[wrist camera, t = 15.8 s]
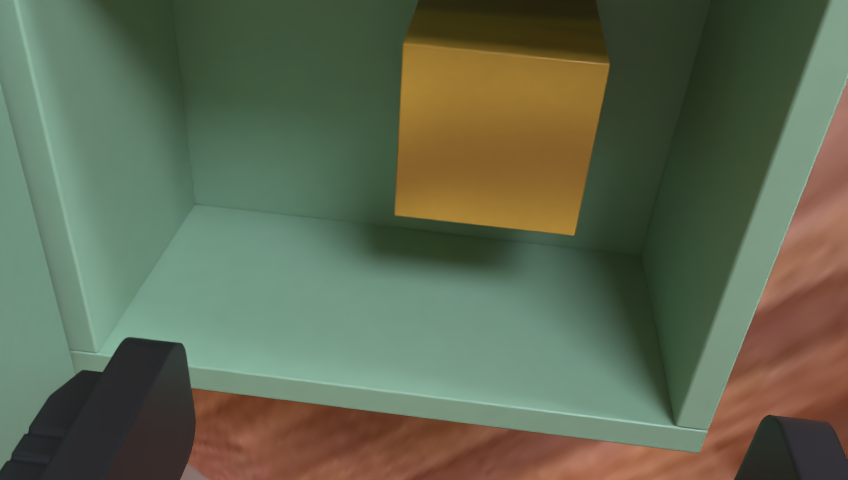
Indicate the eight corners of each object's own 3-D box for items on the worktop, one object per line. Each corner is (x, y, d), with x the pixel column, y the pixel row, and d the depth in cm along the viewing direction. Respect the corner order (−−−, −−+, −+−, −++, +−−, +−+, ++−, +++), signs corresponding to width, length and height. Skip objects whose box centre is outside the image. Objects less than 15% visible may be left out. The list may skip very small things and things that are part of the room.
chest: (784, -174, 18) (921, -102, 12) (657, 263, 26) (699, 454, 19) (126, -231, 19) (-76, -193, 13) (182, 208, 26) (72, 373, 20)
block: (424, -19, 20) (402, 43, 17) (596, -3, 20) (610, 64, 17) (414, 134, 23) (393, 216, 19) (567, 150, 23) (574, 237, 19)
